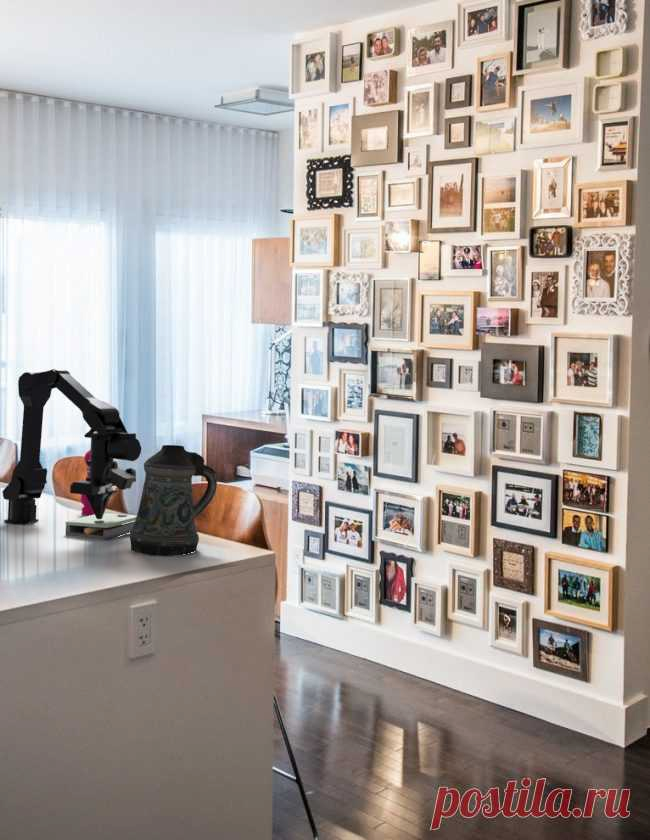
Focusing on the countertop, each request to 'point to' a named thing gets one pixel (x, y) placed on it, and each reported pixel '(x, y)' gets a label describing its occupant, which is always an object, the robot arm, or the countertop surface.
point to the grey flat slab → (99, 531)
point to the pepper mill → (87, 507)
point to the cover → (102, 520)
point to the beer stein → (170, 503)
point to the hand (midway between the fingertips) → (99, 519)
